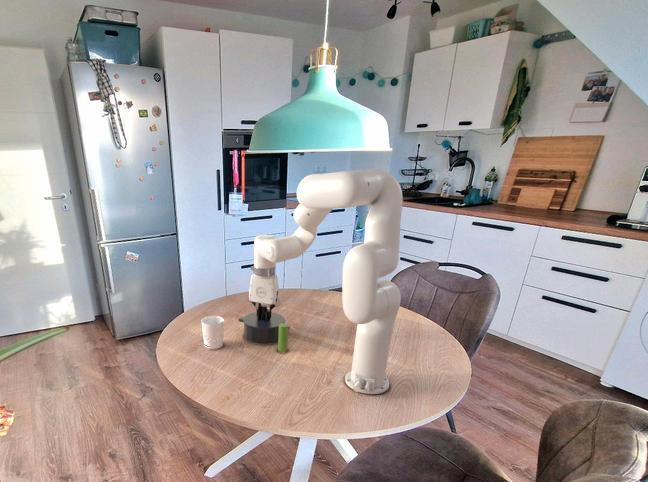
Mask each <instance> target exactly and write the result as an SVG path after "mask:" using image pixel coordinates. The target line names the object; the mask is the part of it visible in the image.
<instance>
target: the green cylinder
mask: <svg viewBox="0 0 648 482" xmlns="http://www.w3.org/2000/svg"><path fill="white" fill-rule="evenodd" d="M288 326H289V324H288V323H286V322H285V323H281V324H279V336H278V342H277V350H278V352H281V353H284V352H288V346H289V345H288V342H289V330H288Z"/></svg>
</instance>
